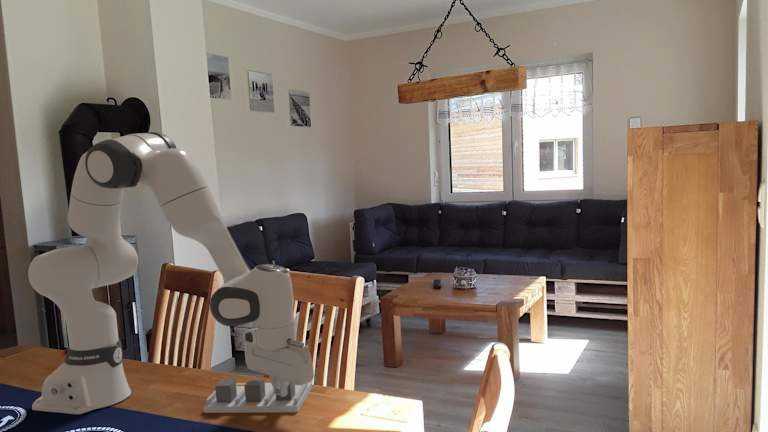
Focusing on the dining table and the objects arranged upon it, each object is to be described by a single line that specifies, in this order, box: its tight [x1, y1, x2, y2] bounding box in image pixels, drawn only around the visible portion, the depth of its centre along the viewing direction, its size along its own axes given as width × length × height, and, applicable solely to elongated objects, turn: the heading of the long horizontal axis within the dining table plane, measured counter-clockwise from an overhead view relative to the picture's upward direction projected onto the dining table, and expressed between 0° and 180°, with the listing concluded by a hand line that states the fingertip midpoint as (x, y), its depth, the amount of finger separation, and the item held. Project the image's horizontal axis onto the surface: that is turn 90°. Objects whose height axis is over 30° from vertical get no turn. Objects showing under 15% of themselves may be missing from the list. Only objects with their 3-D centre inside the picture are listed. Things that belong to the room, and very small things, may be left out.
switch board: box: [203, 381, 313, 414], centre depth 144 cm, size 22×14×3 cm, turn 84°
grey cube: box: [276, 382, 295, 400], centre depth 141 cm, size 4×4×4 cm
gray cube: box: [214, 379, 237, 402], centre depth 142 cm, size 4×4×4 cm
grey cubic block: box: [244, 378, 266, 402], centre depth 141 cm, size 4×4×4 cm
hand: (280, 394), depth 138 cm, fingers closed
